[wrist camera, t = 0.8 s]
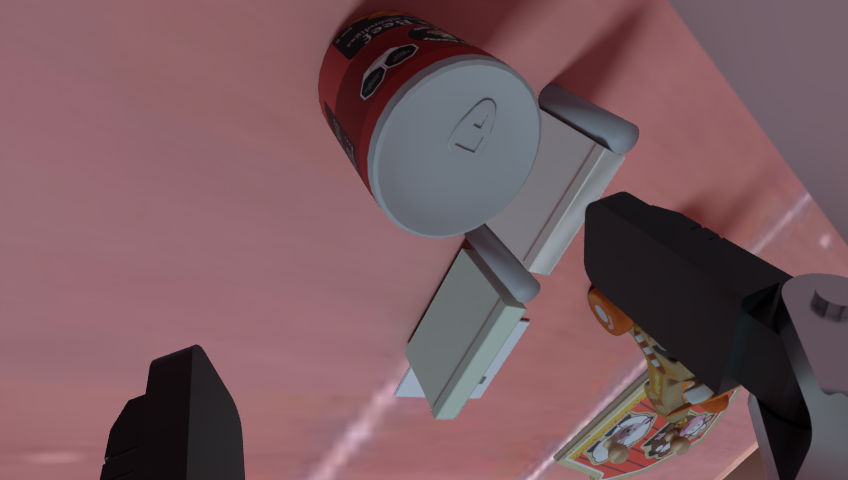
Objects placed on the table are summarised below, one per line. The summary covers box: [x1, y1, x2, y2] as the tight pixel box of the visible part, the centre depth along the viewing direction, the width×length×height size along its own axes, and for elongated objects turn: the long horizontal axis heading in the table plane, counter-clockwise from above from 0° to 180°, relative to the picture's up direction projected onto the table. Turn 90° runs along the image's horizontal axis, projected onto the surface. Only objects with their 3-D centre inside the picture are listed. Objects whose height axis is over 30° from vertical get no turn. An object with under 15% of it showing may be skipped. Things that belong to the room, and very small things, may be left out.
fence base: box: [465, 84, 639, 303], centre depth 33 cm, size 2×13×8 cm, turn 153°
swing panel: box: [404, 248, 527, 419], centre depth 37 cm, size 11×2×7 cm, turn 153°
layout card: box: [394, 320, 530, 398], centre depth 45 cm, size 10×10×1 cm
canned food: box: [318, 10, 542, 238], centre depth 24 cm, size 8×8×11 cm
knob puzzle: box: [553, 369, 742, 480], centre depth 69 cm, size 29×30×4 cm
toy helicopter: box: [588, 288, 742, 423], centre depth 47 cm, size 8×21×14 cm, turn 21°
